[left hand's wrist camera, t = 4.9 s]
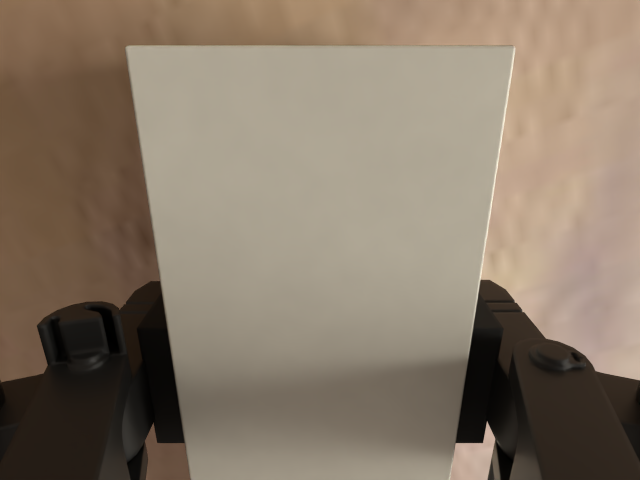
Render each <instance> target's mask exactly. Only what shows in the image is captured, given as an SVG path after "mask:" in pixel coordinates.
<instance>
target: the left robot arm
mask: <svg viewBox="0 0 640 480" xmlns="http://www.w3.org/2000/svg"><path fill="white" fill-rule="evenodd" d="M37 328H38V332H39V335H40V339H41V342H42V346H43V349H44V353H45V356H46V360H47V364H48V366H47V368H46V370H45V372H44V374H40V375H36V376H31V377H26V378H21V379H16V380H11V381H6V382H1V381H0V480H146V472H147V464H148V455H147V449H146V444H145V439H146V437H147V435H148V433H149V431H150V429H151V426H152V424H153V422H154V427H155V433H156V438H157V443H185V441H184V434H183V428H182V421H181V415H180V408H179V401H178V395H177V388H176V382H175V375H174V369H173V362H172V355H171V349H170V342H169V336H168V329H167V323H166V316H165V309H164V303H163V296H162V290H161V283H160V281H151V282H149V283H147V284H146V285H144V286H143V287H141V288H139V289H138V290H136V291H135V292H134V293H133V294H132V295H131V297H130V298H129V299H128V300H127V302H126V304H124V305H123V306H122V308H121V309H120V310H119V308H118V307H116V306H115V305H114V304H111V303H107V302H102V301H101V302H84V303H79V304H74V305H71V306H68V307H65V308H62V309H59V310H57V311H55V312H53V313H52V314H50V315H48V316H46V317H45V318H44V319H43V320H42V321H41V322H40V323H39V324H38V325H37ZM487 421H488V424H489V426H490V428H491V430H492V432H493V434H494V436H495V444H494V449H493V454H492V459H491V464H490V469H489V475H488V480H640V380H635V379H629V378H624V377H619V376H614V375H609V374H604V373H600V372H596V371H595V369H594V367H593V365H592V364H591V363H590V361H589V360H588V359H587V358H586V356H585V355H583V354H582V353H580V352H579V351H577V350H576V349H574V348H573V347H570V346H568V345H565V344H563V343H561V342H558V341H553V340H549V339H546V338H545V337H544V336H543V335H542V333H541V332H540V331H539V330H538V329H537V327H536V326H535V325H534V324H533V322H532V321H531V320H530V319H529V318H528V316H527V315H526V314H525V313H524V312H522V309H521V308H520V307H519V305H518V304H517V303H515V301H514V299H513V298H512V297H511V296H510V294H509V293H508V292H507V291H506V290H505V289H504V288H502V287H500V286H499V285H497V284H495V283H494V282H492V281H490V280H480V285H479V292H478V299H477V305H476V312H475V318H474V325H473V331H472V338H471V345H470V351H469V358H468V364H467V371H466V377H465V384H464V391H463V397H462V404H461V410H460V417H459V423H458V430H457V437H456V443H483V440H484V434H485V429H486V423H487Z"/></svg>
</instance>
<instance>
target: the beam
mask: <svg viewBox="0 0 640 480" xmlns="http://www.w3.org/2000/svg"><path fill="white" fill-rule="evenodd" d="M125 53H126V59H127V66H128V72H129V79H130V86H131V92H132V99H133V105H134V112H135V119H136V125H137V132H138V138H139V145H140V151H141V158H142V165H143V171H144V178H145V184H146V191H147V197H148V204H149V211H150V217H151V224H152V230H153V237H154V244H155V250H156V257H157V263H158V270H159V276H160V283H161V290H162V296H163V303H164V309H165V316H166V323H167V329H168V336H169V342H170V349H171V355H172V362H173V369H174V375H175V382H176V388H177V395H178V401H179V408H180V415H181V421H182V428H183V434H184V441H185V448H186V454H187V461H188V467H189V474H190V480H450V476H451V469H452V463H453V456H454V450H455V443H456V437H457V430H458V423H459V417H460V410H461V404H462V397H463V391H464V384H465V377H466V371H467V364H468V358H469V351H470V345H471V338H472V331H473V325H474V318H475V312H476V305H477V299H478V292H479V285H480V279H481V272H482V266H483V259H484V253H485V246H486V240H487V233H488V226H489V220H490V213H491V207H492V200H493V194H494V187H495V180H496V174H497V167H498V161H499V154H500V148H501V141H502V134H503V128H504V121H505V115H506V108H507V102H508V95H509V88H510V82H511V75H512V69H513V62H514V56H515V47H514V46H512V45H128V46H126V47H125Z"/></svg>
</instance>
